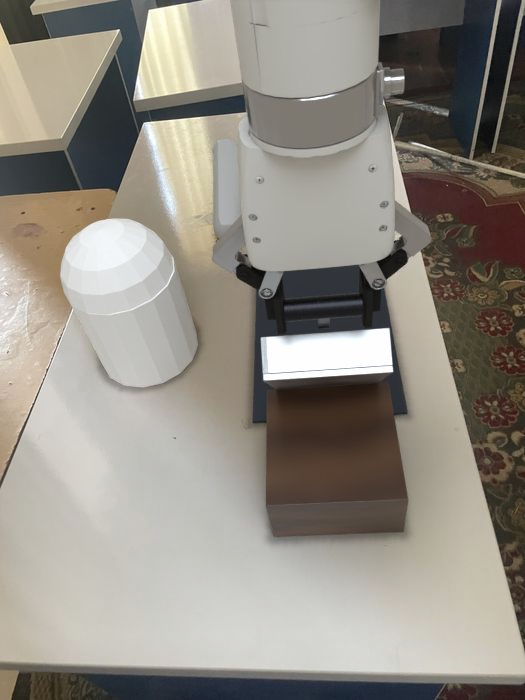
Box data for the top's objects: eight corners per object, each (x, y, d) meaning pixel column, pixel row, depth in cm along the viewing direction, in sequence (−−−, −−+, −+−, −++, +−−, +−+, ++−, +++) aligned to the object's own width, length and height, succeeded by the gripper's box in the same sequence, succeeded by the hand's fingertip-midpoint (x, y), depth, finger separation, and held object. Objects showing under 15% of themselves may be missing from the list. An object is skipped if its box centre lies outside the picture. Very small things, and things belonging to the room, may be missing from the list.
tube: (248, 224, 87) (243, 140, 103) (213, 219, 86) (213, 135, 102) (242, 251, 91) (238, 166, 107) (209, 247, 90) (209, 162, 106)
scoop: (403, 365, 42) (395, 287, 42) (254, 375, 43) (250, 299, 44) (378, 382, 60) (374, 327, 61) (276, 389, 61) (272, 335, 62)
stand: (403, 532, 57) (408, 499, 51) (273, 537, 58) (265, 506, 53) (385, 419, 65) (388, 382, 60) (273, 425, 67) (266, 389, 61)
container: (92, 390, 74) (24, 274, 59) (111, 317, 82) (58, 200, 68) (193, 384, 72) (151, 264, 57) (202, 310, 81) (167, 189, 66)
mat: (407, 414, 65) (407, 412, 65) (253, 423, 67) (252, 421, 67) (371, 224, 89) (371, 222, 89) (258, 235, 91) (258, 233, 91)
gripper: (450, 55, 34) (423, 278, 48) (171, 89, 36) (221, 295, 49) (481, 114, 29) (441, 345, 43) (155, 150, 31) (215, 361, 44)
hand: (323, 317), depth 46 cm, fingers closed on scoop, 6 cm apart
